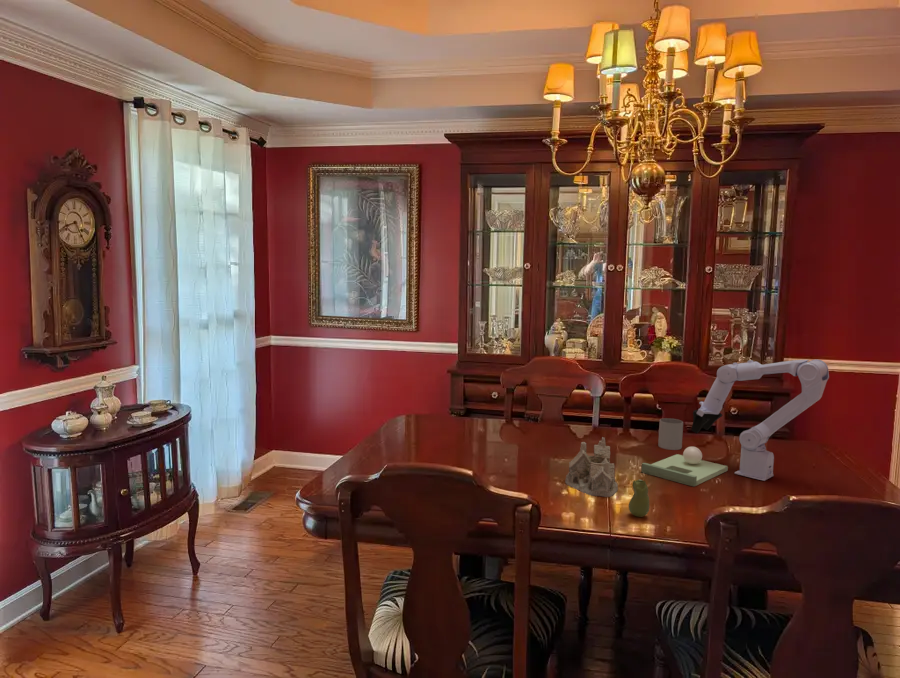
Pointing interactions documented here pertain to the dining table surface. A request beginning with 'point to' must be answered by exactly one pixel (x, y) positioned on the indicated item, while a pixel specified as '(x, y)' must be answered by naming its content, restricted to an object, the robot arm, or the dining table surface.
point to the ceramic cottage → (593, 471)
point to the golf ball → (692, 455)
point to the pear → (639, 499)
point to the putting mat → (683, 470)
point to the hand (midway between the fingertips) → (699, 430)
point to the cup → (670, 434)
